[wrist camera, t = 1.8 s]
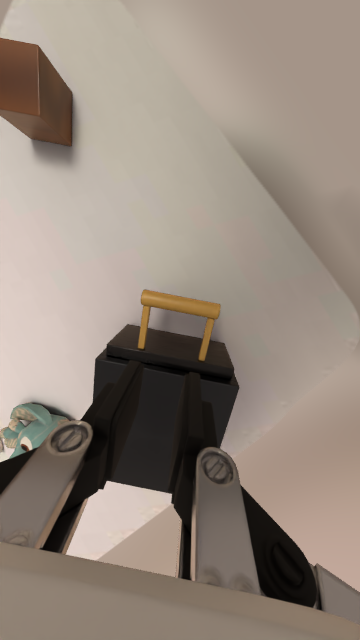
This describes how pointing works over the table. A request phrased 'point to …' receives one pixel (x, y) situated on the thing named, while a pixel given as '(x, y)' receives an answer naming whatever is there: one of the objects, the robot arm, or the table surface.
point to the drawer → (174, 340)
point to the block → (34, 93)
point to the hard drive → (0, 446)
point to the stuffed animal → (29, 427)
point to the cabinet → (159, 418)
